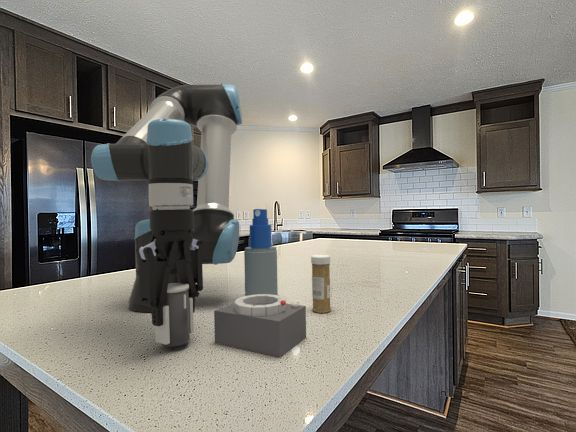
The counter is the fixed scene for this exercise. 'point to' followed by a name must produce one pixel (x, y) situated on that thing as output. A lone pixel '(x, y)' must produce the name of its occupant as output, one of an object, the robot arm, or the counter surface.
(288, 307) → the grey block with ring
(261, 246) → the spray bottle
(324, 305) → the sprinkles bottle
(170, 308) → the grey cylinder
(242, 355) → the counter surface
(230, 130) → the robot arm
